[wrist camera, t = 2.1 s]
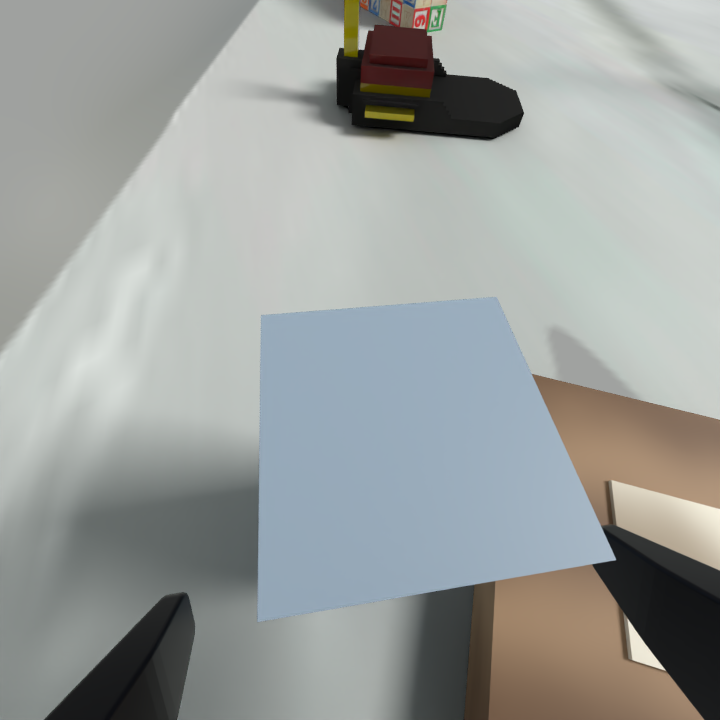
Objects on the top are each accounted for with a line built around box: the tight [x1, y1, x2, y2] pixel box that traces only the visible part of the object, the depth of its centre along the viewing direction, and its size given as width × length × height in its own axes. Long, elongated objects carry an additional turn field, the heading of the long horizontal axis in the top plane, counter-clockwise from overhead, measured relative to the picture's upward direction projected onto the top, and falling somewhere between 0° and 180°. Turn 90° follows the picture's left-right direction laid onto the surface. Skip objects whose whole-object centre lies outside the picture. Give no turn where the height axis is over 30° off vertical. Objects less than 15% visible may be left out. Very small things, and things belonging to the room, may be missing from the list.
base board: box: [464, 374, 720, 720], centre depth 15 cm, size 16×16×3 cm
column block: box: [257, 297, 616, 622], centre depth 11 cm, size 5×5×13 cm
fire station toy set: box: [337, 0, 524, 138], centre depth 35 cm, size 14×20×11 cm
